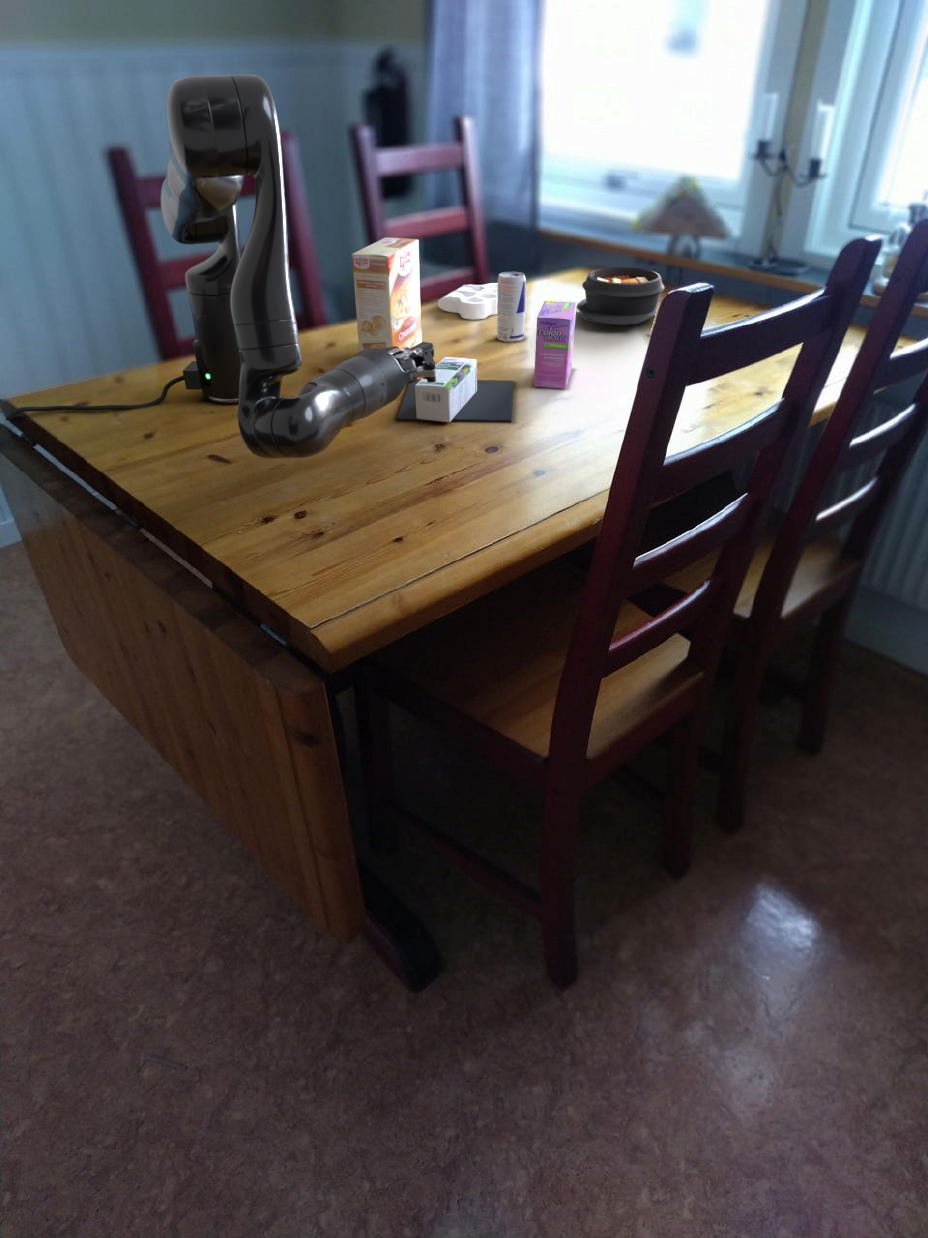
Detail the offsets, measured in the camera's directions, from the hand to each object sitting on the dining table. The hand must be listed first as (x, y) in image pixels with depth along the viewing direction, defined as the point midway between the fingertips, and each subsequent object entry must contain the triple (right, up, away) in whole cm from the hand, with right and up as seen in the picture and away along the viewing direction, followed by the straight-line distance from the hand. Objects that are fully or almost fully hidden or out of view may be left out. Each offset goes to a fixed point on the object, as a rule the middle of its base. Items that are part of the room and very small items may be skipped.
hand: (428, 348), depth 125 cm
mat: (+4, -4, +16) cm, 17 cm away
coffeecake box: (-8, +10, +35) cm, 37 cm away
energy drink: (+14, +16, +44) cm, 49 cm away
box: (+21, +2, +24) cm, 32 cm away
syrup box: (0, -7, +6) cm, 9 cm away
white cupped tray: (+8, +29, +62) cm, 69 cm away
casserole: (+38, +24, +55) cm, 72 cm away
